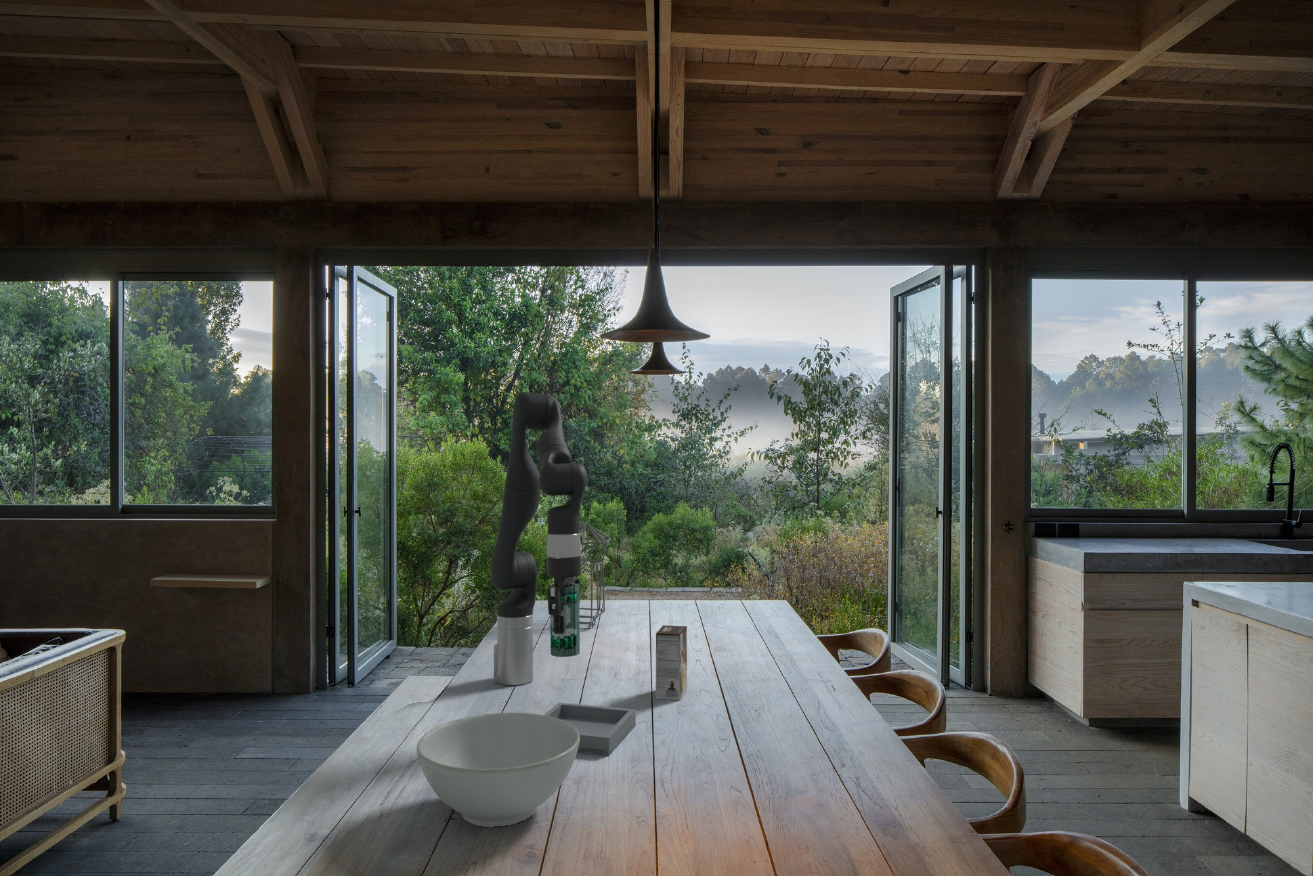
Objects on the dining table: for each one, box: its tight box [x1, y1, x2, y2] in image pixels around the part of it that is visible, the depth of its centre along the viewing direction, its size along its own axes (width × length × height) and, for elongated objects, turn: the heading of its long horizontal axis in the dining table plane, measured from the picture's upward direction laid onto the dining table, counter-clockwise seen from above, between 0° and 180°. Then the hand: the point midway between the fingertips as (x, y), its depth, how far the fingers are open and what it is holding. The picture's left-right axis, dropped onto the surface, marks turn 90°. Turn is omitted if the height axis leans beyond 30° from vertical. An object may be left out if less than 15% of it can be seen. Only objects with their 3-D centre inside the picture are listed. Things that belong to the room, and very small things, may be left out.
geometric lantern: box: [575, 522, 612, 628], centre depth 278 cm, size 16×16×35 cm
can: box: [549, 583, 581, 658], centre depth 180 cm, size 6×6×15 cm
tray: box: [543, 702, 637, 756], centre depth 173 cm, size 18×18×4 cm
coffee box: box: [655, 625, 688, 701], centre depth 202 cm, size 9×6×16 cm
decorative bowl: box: [416, 712, 580, 828], centre depth 137 cm, size 27×27×12 cm
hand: (564, 630), depth 180 cm, fingers closed on can, 6 cm apart
